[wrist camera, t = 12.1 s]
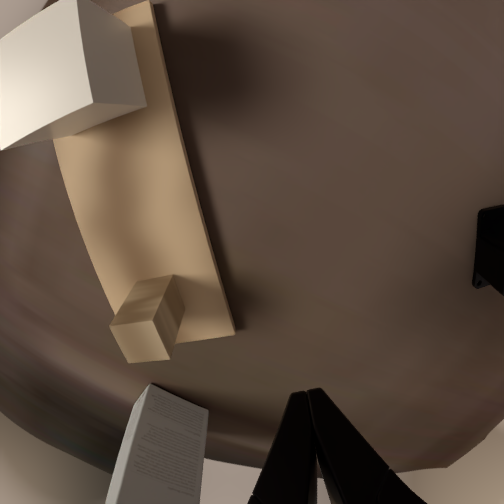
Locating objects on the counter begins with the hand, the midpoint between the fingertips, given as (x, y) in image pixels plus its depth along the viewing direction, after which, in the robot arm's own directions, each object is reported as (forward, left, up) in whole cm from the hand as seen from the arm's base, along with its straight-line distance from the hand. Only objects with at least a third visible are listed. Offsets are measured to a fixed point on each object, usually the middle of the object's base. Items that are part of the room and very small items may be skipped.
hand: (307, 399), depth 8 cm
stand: (+8, -5, -12) cm, 16 cm away
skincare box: (+12, +14, -13) cm, 22 cm away
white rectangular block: (+8, -12, -12) cm, 19 cm away
